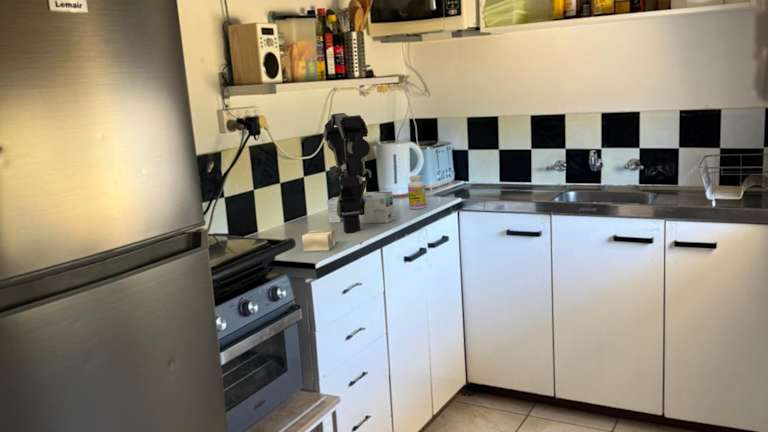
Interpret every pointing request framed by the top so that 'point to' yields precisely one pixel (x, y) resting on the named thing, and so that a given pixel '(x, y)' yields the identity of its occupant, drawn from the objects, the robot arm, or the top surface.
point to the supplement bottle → (416, 193)
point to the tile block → (319, 241)
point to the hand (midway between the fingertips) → (358, 203)
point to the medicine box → (333, 210)
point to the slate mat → (334, 250)
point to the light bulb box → (378, 207)
